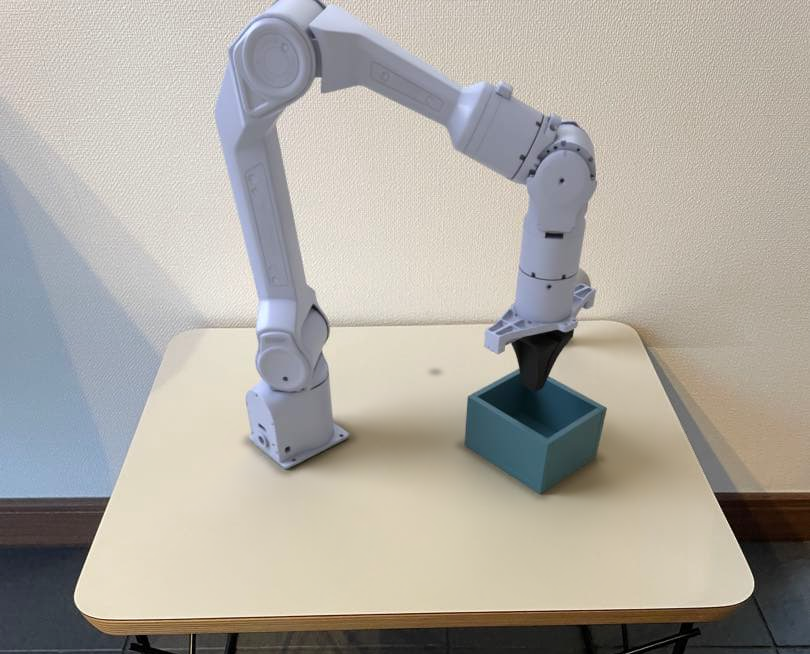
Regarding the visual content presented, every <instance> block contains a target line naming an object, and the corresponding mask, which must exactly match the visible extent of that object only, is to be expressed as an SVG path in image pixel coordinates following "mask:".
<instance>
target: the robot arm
mask: <svg viewBox="0 0 810 654" xmlns="http://www.w3.org/2000/svg"><path fill="white" fill-rule="evenodd" d="M226 63H227V64H226V67H225V69H224V73H223V78H222V80H221V85H220V88H219V91H218V92H219V93H218V94H217V98H216V102H215V105H214V110H213V111H214V121H215V125H216V128H217V133H218V138H219V142H220V145H221V146H220V147H221V149H222V154H223V158H224V162H225V167H226V170H227V174H228V178H229V182H230V187H231V190H232V194H233V199H234V203H235V208H236V211H237V216H238V220H239V224H240V227H241V232H242V237H243V240H244V244H245V248H246V252H247V258H248V261H249V264H250V268H251V273H252V277H253V281H254V285H255V290H256V293H257V298H258V307H257V316H256V323H255V335H256V339H257V350H256V353H255V358H254V363H255V370H256V371H257V374H258V375H259V377H260V378H261V379H260V381H259V382H258V383H257V384H255V385H254V386H253V387H251V388H250V389H249V390H247V392H245V393H246V394H245V405H246V409H247V410H246V411H247V416H248V421H249V426H250V434H249V436H248V437H249V441H251V442H252V443H253V444H255V446H257V447H258V448H259V449H261V450H262V451H263V452H264V453H265V454H266V455H267V456H269V457H270V458H271V459H272V460H273V461H275V462H276V463H277V464H279V466H281V468H283V469H285V470H287V469H288V470H289V469H290V468H292V467H294V466H296V465H299V464H301V463H302V462H304V461H306V460H307V459H310V458H312V457H314V456H316V455H318V454H320V453H321V452H324V451H326V450H327V449H329V448H331V447H333V446H335V445H337V444H339V443H341V442H343V441H345V440H347V439H349V437H350V434H349V432H348V431H347V430H345V429H344V428H342V427H341V426H339V424H337V423H336V422H334V416H333V415H334V414H333V405H332V404H333V403H332V392H331V391H332V390H331V381H330V371H329V370H330V369H329V364H328V362H327V359H326V358H325V356H324V353H323V348H324V346H326V343H327V341H328V339H329V337H330V334H331V325H330V321H329V319H328V316H327V315H326V314H325V312H324V311H323V310H322V308H321V306H320V305H319V302H318V299H317V295H316V291H315V289H314V288H313V287H311V286H310V285H308V284H307V278H306V274H305V268H304V264H303V263H304V262H303V259H302V253H301V248H300V242H299V236H298V232H297V226H296V222H295V217H294V210H293V207H292V202H291V201H292V200H291V195H290V191H289V190H290V189H289V186H288V180H287V176H286V170H285V165H284V160H283V155H282V149H281V145H280V144H281V143H280V139H279V134H278V127H277V122H278V120H279V119H280V117H282V115H283V113H284V112H285V110H286V109H287V108H288V107H290V106H292V105H293V104H294V103H296V102H297V101H299V100H300V99H302V98H303V97H304V96H305V95H306V94H307V93H308V92H309V90H310V88H311V87H312V85H313V83H314V81H315V79H316V78H321V79H320V94H328V93H333V92H337V91H341V90H347V89H349V88H352V87H353V88H354V87H359V86H361V87H364V88H366V89H368V90H370V91H372V92H375V93H376V94H378V95H379V96H383V97H384V98H387V99H389V100H390V101H392V102H395V103H397V104H399V105H400V106H403V107H405V108H406V109H409V110H411V111H413V112H414V113H416V114H417V113H418V115H421V116H423V117H425V118H427V119H429V120H431V121H433V122H435V123H438V124H439V125H441V126H444V128H445V129H446V130H447V133H448V135H449V138H450V142H451V146H452V148H453V149H454V150H455V151H457V152H459V153H460V154H462V155H464V156H466V157H468V158H469V159H471V160H473V161H475V162H477V163H478V164H480V165H482V166H483V167H486V168H487V169H489V170H491V171H492V172H494V173H496V174H498V175H500V176H502V177H504V178H506V179H507V180H509V181H511V182H512V183H515V184H519V185H523V186H526V190H527V194H528V196H529V197H528V199H529V200H528V206H527V211H526V212H525V215H524V217H523V224H522V233H521V242H520V243H521V244H520V251H519V261H518V269H517V279H516V286H515V287H516V288H515V298H514V302H513V303H512V304H511V306H509V307H508V309H507V310H506V311H505V312H504V313H503V314H502V315H501V316H500V317H499V319H498V320H496V322H495V323H493V324H492V325H491V326H489V327H488V328H486V329H485V330H484V341H483V342H484V343H483V344H484V345H483V347H484V348H486V349H487V350H488V351H491V352H493V353H494V354H497V355H500V354H503V353H504V352H505V351H506V346H508V345H510V344H511V347H512V349H513V351H514V355H515V357H516V360H517V365H518V369H519V370H520V376H521V382H522V385H523V386H524V387H526V388H528V389H530V390H531V391H533V392H537V391H538V390H540V389H542V388H543V387H544V385H545V383H546V381H547V378H548V376H549V377H550V374H551V371H552V369H553V368H554V365H555V363H556V361H557V359H558V357H559V356H560V355H561V353H562V351H563V350H564V348H565V347H566V346H567V345H568V343H569V342H570V341H571V340H572V339H573V337H574V333H575V329H576V328H577V327H578V325H579V320H578V318H577V316H578V314H579V312H580V311H581V310H582V309H585V310H589V309H590V308H593V307H594V304H595V300H596V294H597V289H596V288H593V287H592V286H591V287H589V286H587V285H584V284H582V283H581V284H579V285H576V280H577V274H578V269H579V268H580V263H581V256H582V250H583V244H584V237H585V231H586V226H587V221H586V214H587V212H588V208H589V202H590V201H591V199H592V197H593V196H594V194H595V192H596V189H597V186H598V181H597V169H596V158H595V156H596V155H595V148H594V144H593V141H592V140H591V137H590V135H589V134H588V133H587V131H586V130H584V128H583V127H581V126H580V125H579V124H578V122H577V121H576V120H572V119H562V117H561V116H560V115H558V114H557V113H554V112H551V113H550V115H549V116H547V115H546V114H543V113H542V112H541V111H539V110H537V109H535V108H534V107H532V106H531V105H529V104H527V103H526V102H524V101H522V100H520V99H518V98H516V97H515V96H513V92H514V91H513V90H514V86H513V85H511V84H510V83H508V82H506V81H504V80H499V81H498V83H497V85H496V86H495V85H494V84H492V83H491V82H489V81H487V80H481V81H479V82H477V83H473V84H471V85H467V86H463V85H461V84H460V83H458V82H457V81H455V80H453V79H452V78H450V77H449V76H448V75H446V74H445V73H443V72H441V71H440V70H438V69H436V68H435V67H433V66H432V65H430V64H429V63H427V62H426V61H424V60H423V59H421V58H419V57H418V56H416V55H415V54H414V53H412V52H410V51H409V50H407V49H405V48H404V47H402V46H400V44H397V43H396V42H395V41H393V40H392V39H390V38H389V37H387V36H385V35H384V34H382V33H381V32H379V31H378V30H376V29H374V28H373V27H372V26H370V25H368V24H366V23H365V22H364V21H362V20H361V19H359V18H358V17H357V16H355V15H354V14H352V13H351V12H349V11H348V10H346V9H345V8H343V7H341V6H338V5H335V4H332V3H329V4H328V5H326V4H325V2H324V1H323V0H275V1H274V2H273V3H272V4H271V5H270V6H269V7H268V9H266V10H265V11H264V12H262V13H260V14H257V15H256V16H254V17H253V18H251V19H250V20H249V21H248V22H247V23H246V25H245V26H244V27H243V28H242V30H240V32H239V33H238V34H237V36H236V37H235V38H234V39H233V40H232V42H231V43H230V45H228V47H227V62H226ZM577 313H578V314H577ZM576 315H577V316H576ZM575 316H576V318H574V317H575Z"/></svg>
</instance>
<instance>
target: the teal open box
mask: <svg viewBox="0 0 810 654" xmlns="http://www.w3.org/2000/svg"><path fill="white" fill-rule="evenodd" d="M466 400H467V401H466V402H467V403H466V415H465V416H466V417H465V429H464V431H465V432H464V446H465V447H467V448H468V449H470V450H472V451H473V452H475V453H476V454H477V455H479V456H481V457H482V458H483V459H485V460H486V461H488V462H490V463H491V464H492V465H495V467H497V468H498V469H500V470H502V471H503V472H505V473H507V474H508V475H510V476H511V477H513V478H514V479H516V480H517V481H518V482H521V483H522V484H523V485H525V486H526V487H528V488H530V489H531V490H533V491H534V492H536V493H537V494H539V495H541V494H543V493H544V492H546V491H547V490H549V489H550V488H552V487H553V486H555V485H556V484H558V483H559V482H561V481H562V480H564V479H566V478H567V477H568V476H571V474H573V473H575V472H576V471H577V470H578V469H580V468H582V467H584V466H585V465H586V464H588V463H589V462H591V461H592V460H593V459H595V458H597V455H598V451H599V446H600V441H601V438H602V437H601V436H602V432H603V428H604V423H605V419H606V415H607V410H608V407H606V406H605V405H603V404H601V403H599V402H597V401H595V400H593V399H592V398H590V397H588V396H586V395H584V394H583V393H581V392H579V391H577V390H576V389H573V388H572V387H570V386H568V385H566V384H564V383H562V382H560V381H559V380H557V379H555V378H553V377H551V376H550V375H549V376H548V378H547V381H546V383H545V385H544V387H543V388H542V389H540V390H538V391H537V392H533V391H531V390H530V389H528V388H526V387H524V386H523V385H522V382H521V376H520V370H519V368H517V369H515V370H514V371H511V372H509V373H508V374H506V375H504V376H502V377H501V378H499V379H497V380H495V381H493V382H491V383H489V384H488V385H486V386H484V387H482V388H480V389H478V390H476V391H475V392H473V393H471V394H470V395H467V399H466Z"/></svg>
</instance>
